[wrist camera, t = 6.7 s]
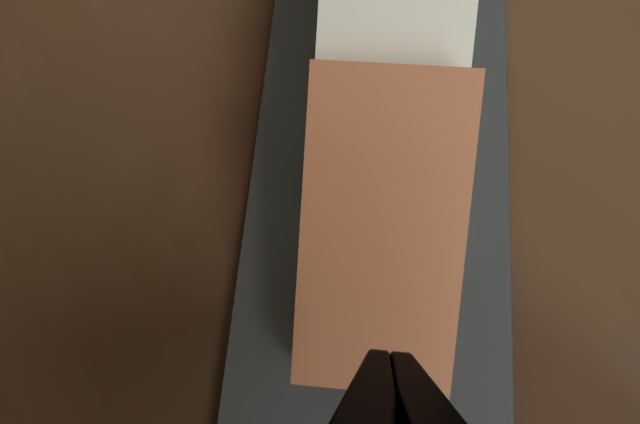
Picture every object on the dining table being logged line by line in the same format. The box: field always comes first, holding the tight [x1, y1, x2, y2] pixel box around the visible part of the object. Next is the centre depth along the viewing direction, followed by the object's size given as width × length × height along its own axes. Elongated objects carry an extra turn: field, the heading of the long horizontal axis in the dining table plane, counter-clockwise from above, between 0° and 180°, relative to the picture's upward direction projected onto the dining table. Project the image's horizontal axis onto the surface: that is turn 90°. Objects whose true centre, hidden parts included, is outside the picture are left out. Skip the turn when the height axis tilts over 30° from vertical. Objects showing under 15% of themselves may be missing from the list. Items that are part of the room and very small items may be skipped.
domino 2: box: [290, 59, 486, 400], centre depth 14 cm, size 2×5×10 cm
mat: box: [217, 0, 514, 424], centre depth 17 cm, size 23×10×1 cm, turn 175°
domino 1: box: [315, 0, 479, 68], centre depth 15 cm, size 2×5×10 cm
